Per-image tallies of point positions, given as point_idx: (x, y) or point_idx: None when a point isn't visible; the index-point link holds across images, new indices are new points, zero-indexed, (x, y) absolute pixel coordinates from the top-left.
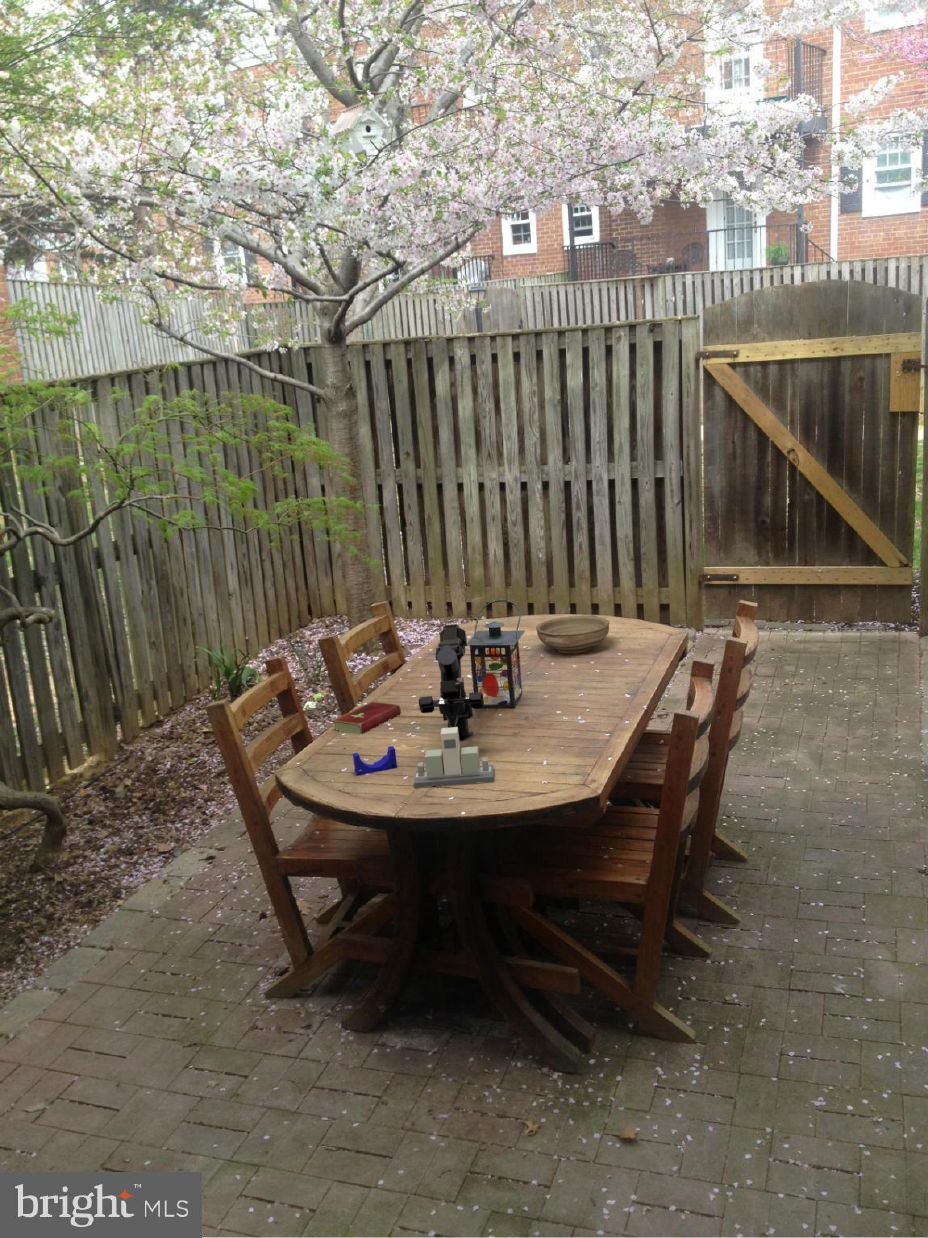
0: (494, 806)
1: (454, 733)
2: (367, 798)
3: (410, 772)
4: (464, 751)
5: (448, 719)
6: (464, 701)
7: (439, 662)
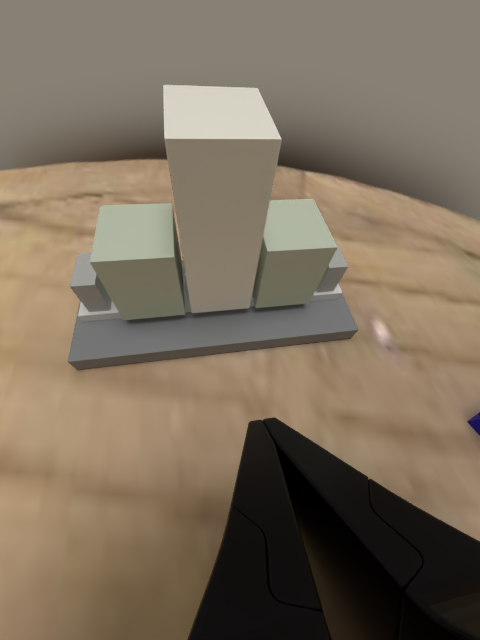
0: (108, 176)
1: (179, 89)
2: (403, 228)
3: (388, 371)
4: (158, 220)
5: (337, 458)
6: None
7: None
